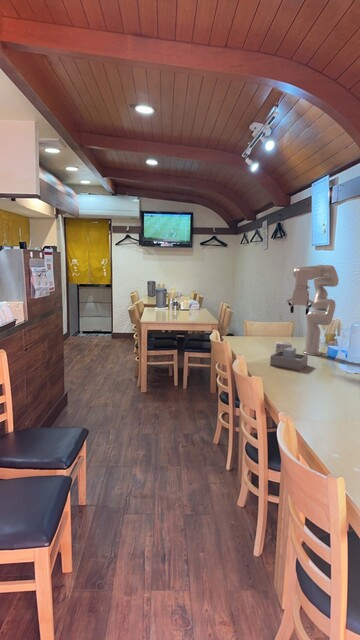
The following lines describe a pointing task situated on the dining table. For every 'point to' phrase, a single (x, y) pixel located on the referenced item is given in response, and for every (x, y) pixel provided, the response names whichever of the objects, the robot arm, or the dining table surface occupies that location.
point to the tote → (288, 361)
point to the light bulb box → (281, 346)
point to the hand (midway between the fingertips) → (299, 313)
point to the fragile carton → (289, 353)
